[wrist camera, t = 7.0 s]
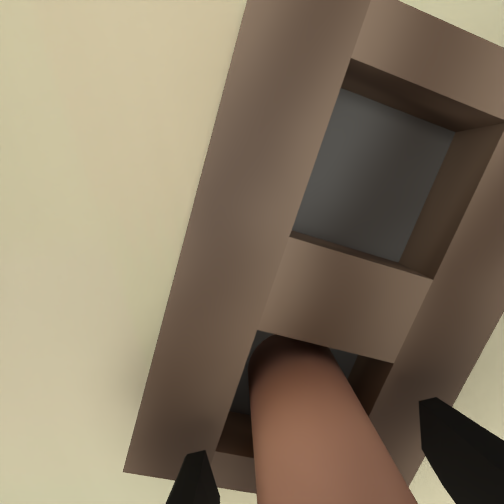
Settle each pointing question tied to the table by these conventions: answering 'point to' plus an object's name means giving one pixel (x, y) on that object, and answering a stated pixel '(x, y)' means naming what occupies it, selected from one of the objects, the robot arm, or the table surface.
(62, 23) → the table surface
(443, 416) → the robot arm
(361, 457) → the pin
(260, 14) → the peg block
